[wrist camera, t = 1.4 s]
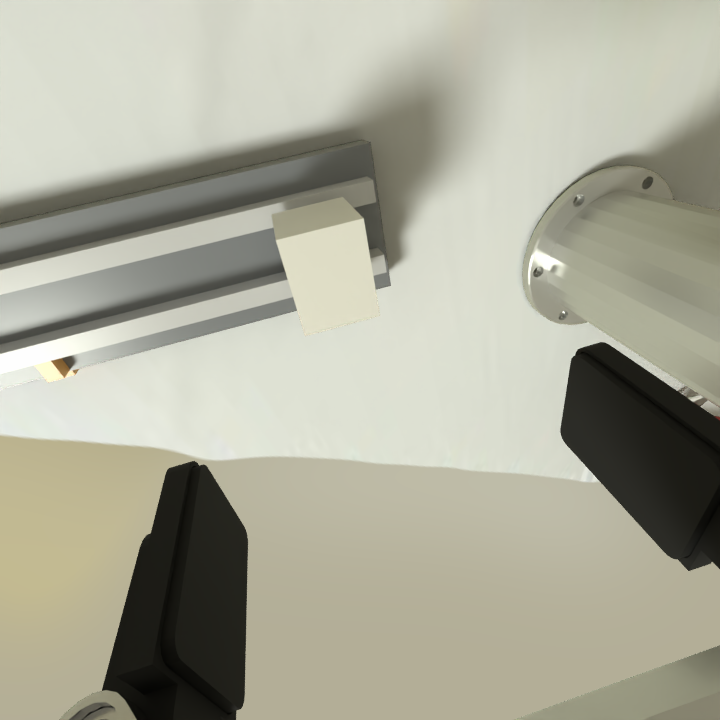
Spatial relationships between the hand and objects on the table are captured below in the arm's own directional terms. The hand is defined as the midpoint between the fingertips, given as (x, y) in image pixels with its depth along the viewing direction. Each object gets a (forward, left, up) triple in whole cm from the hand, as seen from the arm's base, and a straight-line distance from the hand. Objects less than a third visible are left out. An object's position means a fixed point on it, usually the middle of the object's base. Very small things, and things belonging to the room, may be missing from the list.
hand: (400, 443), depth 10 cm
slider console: (+9, 0, -20) cm, 22 cm away
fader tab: (0, 0, -18) cm, 18 cm away
